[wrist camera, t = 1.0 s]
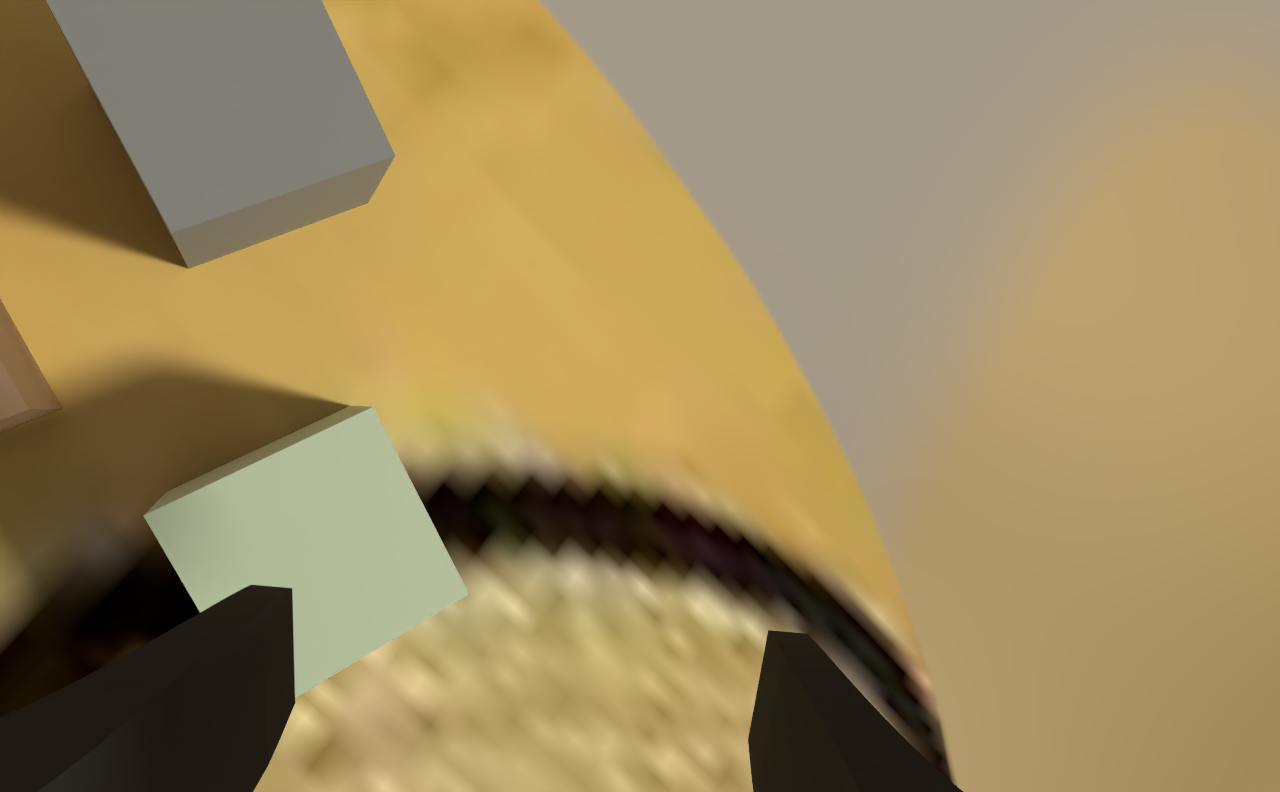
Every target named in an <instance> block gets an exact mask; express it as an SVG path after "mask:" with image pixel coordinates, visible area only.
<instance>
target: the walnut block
mask: <svg viewBox="0 0 1280 792" xmlns="http://www.w3.org/2000/svg"><path fill="white" fill-rule="evenodd" d="M59 409H62V408H61V406H60V404H59V402H58V400H57V399H56V397H55V395H54V393H53V392H52V390H51V388H50V386H49V384H48V383H47V381H46V379H45V377H44V376H43V374H42V372H41V370H40V369H39V367H38V365H37V363H36V361H35V360H34V358H33V356H32V354H31V353H30V351H29V349H28V347H27V345H26V344H25V342H24V340H23V338H22V337H21V335H20V333H19V331H18V330H17V328H16V326H15V324H14V322H13V321H12V319H11V317H10V315H9V314H8V312H7V310H6V308H5V306H4V305H3V303H2V301H1V299H0V432H3V431H6V430H8V429H11V428H13V427H16V426H18V425H21V424H24V423H26V422H29V421H31V420H34V419H36V418H39V417H41V416H44V415H47V414H49V413H52V412H54V411H57V410H59Z"/></svg>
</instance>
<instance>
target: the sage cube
mask: <svg viewBox="0 0 1280 792" xmlns="http://www.w3.org/2000/svg"><path fill="white" fill-rule="evenodd" d="M143 516H144V518H145V520H146V521H147V523H148V525H149V526H150V528H151V530H152V531H153V533H154V535H155V537H156V538H157V540H158V542H159V543H160V545H161V547H162V548H163V550H164V552H165V554H166V555H167V557H168V559H169V560H170V562H171V564H172V566H173V567H174V569H175V571H176V572H177V574H178V576H179V577H180V579H181V581H182V583H183V584H184V586H185V588H186V589H187V591H188V593H189V594H190V596H191V598H192V600H193V601H194V603H195V605H196V606H197V608H198V610H199V611H200V612H202V611H204V610H206V609H207V608H209V607H211V606H212V605H214V604H216V603H218V602H219V601H221V600H223V599H225V598H226V597H228V596H230V595H232V594H234V593H236V592H237V591H239V590H241V589H243V588H245V587H247V586H249V585H261V586H273V587H284V588H292V596H293V636H294V676H295V698H296V697H297V696H299V695H301V694H302V693H304V692H306V691H308V690H309V689H311V688H313V687H314V686H316V685H318V684H319V683H321V682H323V681H324V680H326V679H328V678H329V677H331V676H333V675H334V674H336V673H338V672H339V671H341V670H343V669H344V668H346V667H348V666H349V665H351V664H353V663H354V662H356V661H358V660H359V659H361V658H363V657H364V656H366V655H368V654H369V653H371V652H373V651H374V650H376V649H378V648H379V647H381V646H383V645H384V644H386V643H388V642H389V641H391V640H393V639H394V638H396V637H398V636H399V635H401V634H403V633H404V632H406V631H408V630H409V629H411V628H413V627H414V626H416V625H418V624H419V623H421V622H423V621H424V620H426V619H428V618H429V617H431V616H433V615H434V614H436V613H438V612H440V611H441V610H443V609H445V608H446V607H448V606H450V605H451V604H453V603H455V602H456V601H458V600H460V599H461V598H463V597H465V596H466V595H468V594H469V593H468V591H467V589H466V587H465V585H464V583H463V581H462V579H461V578H460V576H459V574H458V572H457V570H456V568H455V566H454V564H453V562H452V560H451V558H450V556H449V554H448V552H447V550H446V548H445V546H444V544H443V542H442V540H441V539H440V537H439V535H438V533H437V531H436V529H435V527H434V525H433V523H432V521H431V519H430V517H429V515H428V513H427V511H426V509H425V507H424V505H423V503H422V501H421V499H420V498H419V496H418V494H417V492H416V490H415V488H414V486H413V484H412V482H411V480H410V478H409V476H408V474H407V472H406V470H405V468H404V466H403V464H402V462H401V460H400V459H399V457H398V455H397V453H396V451H395V449H394V447H393V445H392V443H391V441H390V439H389V437H388V435H387V433H386V431H385V429H384V427H383V425H382V423H381V421H380V419H379V418H378V416H377V414H376V412H375V410H374V408H373V407H365V406H348V407H346V408H344V409H342V410H340V411H338V412H336V413H333V414H331V415H329V416H327V417H325V418H323V419H321V420H318V421H316V422H314V423H312V424H310V425H308V426H306V427H304V428H301V429H299V430H297V431H295V432H293V433H291V434H289V435H286V436H284V437H282V438H280V439H278V440H276V441H274V442H271V443H269V444H267V445H265V446H263V447H261V448H259V449H256V450H254V451H252V452H250V453H248V454H246V455H244V456H241V457H239V458H237V459H235V460H233V461H231V462H229V463H226V464H224V465H222V466H220V467H218V468H216V469H214V470H211V471H209V472H207V473H205V474H203V475H201V476H199V477H196V478H194V479H192V480H190V481H188V482H186V483H184V484H182V485H179V486H177V487H175V488H173V489H171V490H169V491H167V492H166V493H165V494H164V495H163V496H162V497H161V498H160V499H159V500H158V501H157V502H156V503H155V504H154V505H153V506H152V507H151V508H150V509H149V510H148V511H147V512H146V513H145V514H144V515H143Z"/></svg>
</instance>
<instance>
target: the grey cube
mask: <svg viewBox="0 0 1280 792" xmlns="http://www.w3.org/2000/svg"><path fill="white" fill-rule="evenodd" d="M46 2H47V4H48V6H49V8H50V10H51V12H52V13H53V15H54V17H55V19H56V21H57V23H58V25H59V27H60V29H61V31H62V33H63V35H64V37H65V39H66V41H67V43H68V44H69V46H70V48H71V50H72V52H73V54H74V56H75V58H76V60H77V62H78V64H79V66H80V68H81V70H82V72H83V74H84V76H85V77H86V79H87V81H88V83H89V85H90V87H91V89H92V91H93V93H94V94H95V96H96V98H97V100H98V102H99V104H100V106H101V107H102V109H103V111H104V113H105V115H106V117H107V119H108V120H109V122H110V124H111V126H112V128H113V130H114V131H115V133H116V135H117V137H118V139H119V141H120V143H121V144H122V146H123V148H124V150H125V152H126V154H127V156H128V157H129V159H130V161H131V163H132V165H133V167H134V169H135V170H136V172H137V174H138V176H139V178H140V180H141V182H142V183H143V185H144V187H145V189H146V191H147V193H148V195H149V196H150V198H151V200H152V202H153V204H154V206H155V208H156V209H157V211H158V213H159V215H160V217H161V219H162V220H163V222H164V224H165V226H166V228H167V230H168V232H169V233H170V235H171V237H172V239H173V241H174V243H175V245H176V246H177V248H178V250H179V252H180V254H181V256H182V258H183V259H184V261H185V263H186V265H187V267H188V269H189V268H192V267H194V266H197V265H200V264H203V263H205V262H208V261H211V260H214V259H216V258H219V257H222V256H224V255H227V254H230V253H233V252H235V251H238V250H241V249H244V248H246V247H249V246H252V245H254V244H257V243H260V242H263V241H265V240H268V239H271V238H273V237H276V236H279V235H282V234H284V233H287V232H290V231H293V230H295V229H298V228H301V227H303V226H306V225H309V224H312V223H314V222H317V221H320V220H323V219H325V218H328V217H331V216H333V215H336V214H339V213H342V212H344V211H347V210H350V209H352V208H355V207H358V206H361V205H363V204H366V203H368V202H369V200H370V198H371V197H372V195H373V193H374V191H375V190H376V188H377V186H378V185H379V183H380V181H381V179H382V178H383V176H384V174H385V172H386V171H387V169H388V167H389V165H390V164H391V162H392V160H393V158H394V157H395V154H394V152H393V150H392V148H391V146H390V144H389V141H388V139H387V137H386V135H385V133H384V131H383V129H382V127H381V125H380V123H379V120H378V118H377V116H376V114H375V112H374V110H373V108H372V106H371V104H370V102H369V99H368V97H367V95H366V93H365V91H364V89H363V87H362V85H361V83H360V81H359V78H358V76H357V74H356V72H355V70H354V68H353V66H352V64H351V62H350V60H349V57H348V55H347V53H346V51H345V49H344V47H343V45H342V43H341V41H340V38H339V36H338V34H337V32H336V30H335V28H334V26H333V24H332V22H331V20H330V17H329V15H328V13H327V11H326V9H325V7H324V5H323V3H322V1H321V0H46Z"/></svg>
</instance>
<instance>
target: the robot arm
mask: <svg viewBox="0 0 1280 792" xmlns="http://www.w3.org/2000/svg"><path fill="white" fill-rule="evenodd" d="M294 704H295V676H294V636H293V596H292V588H284V587H273V586H261V585H249V586H247V587H245V588H243V589H241V590H239V591H237V592H236V593H234V594H232V595H230V596H228V597H226V598H225V599H223V600H221V601H219V602H218V603H216V604H214V605H212V606H211V607H209V608H207V609H206V610H204V611H202V612H200V613H199V614H197V615H195V616H194V617H192V618H190V619H188V620H187V621H185V622H183V623H182V624H180V625H178V626H176V627H175V628H173V629H171V630H169V631H168V632H166V633H164V634H162V635H161V636H159V637H157V638H155V639H154V640H152V641H150V642H148V643H147V644H145V645H143V646H141V647H140V648H138V649H136V650H134V651H133V652H131V653H129V654H127V655H125V656H123V657H122V658H120V659H118V660H116V661H114V662H112V663H110V664H108V665H106V666H104V667H103V668H101V669H99V670H97V671H95V672H93V673H91V674H89V675H87V676H85V677H83V678H82V679H80V680H78V681H76V682H74V683H72V684H70V685H68V686H66V687H64V688H62V689H61V690H59V691H57V692H55V693H53V694H51V695H49V696H46V697H44V698H42V699H40V700H38V701H36V702H34V703H32V704H30V705H28V706H25V707H23V708H21V709H19V710H17V711H15V712H12V713H10V714H8V715H6V716H3V717H1V718H0V792H253V791H254V789H255V787H256V785H257V784H258V782H259V780H260V779H261V777H262V775H263V773H264V772H265V770H266V768H267V766H268V764H269V762H270V760H271V758H272V755H273V753H274V751H275V749H276V747H277V744H278V742H279V740H280V738H281V735H282V733H283V730H284V728H285V726H286V723H287V721H288V719H289V716H290V714H291V711H292V709H293V707H294ZM748 743H749V753H750V764H751V774H752V783H753V791H754V792H963V791H961V790H960V789H959V788H958V787H957V786H956V785H954V784H953V783H952V782H951V781H950V780H949V779H948V778H946V777H945V776H944V775H943V774H942V773H941V772H940V771H939V770H937V769H936V768H935V767H934V766H933V765H932V764H931V763H930V762H929V761H928V760H927V759H926V758H925V757H924V756H923V755H921V754H920V753H919V752H918V751H917V750H916V749H915V748H914V747H913V746H912V745H911V744H910V743H909V742H908V741H907V740H906V739H905V738H904V737H903V736H902V735H901V734H900V733H899V732H898V731H897V730H896V729H895V728H894V727H893V726H892V725H891V724H890V723H889V722H888V721H887V720H886V719H885V718H884V717H883V716H882V715H881V714H880V713H879V712H878V711H877V710H876V709H875V708H874V706H873V705H872V704H871V703H870V702H869V701H868V700H867V699H866V698H865V697H864V696H863V695H862V694H861V692H860V691H859V690H858V689H857V688H856V687H855V686H854V685H853V684H852V683H851V681H850V680H849V679H848V678H847V677H846V676H845V675H844V674H843V672H842V671H841V670H840V669H839V668H838V667H837V666H836V665H835V663H834V662H833V661H832V660H831V659H830V658H829V657H828V656H827V654H826V653H825V652H824V651H823V650H822V649H821V648H820V647H819V645H818V644H817V643H816V642H815V641H814V640H813V639H812V638H811V637H810V636H809V635H808V634H803V633H792V632H780V631H769V630H768V636H767V641H766V647H765V652H764V657H763V663H762V668H761V673H760V679H759V684H758V690H757V695H756V700H755V706H754V711H753V717H752V722H751V727H750V733H749V738H748Z"/></svg>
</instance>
